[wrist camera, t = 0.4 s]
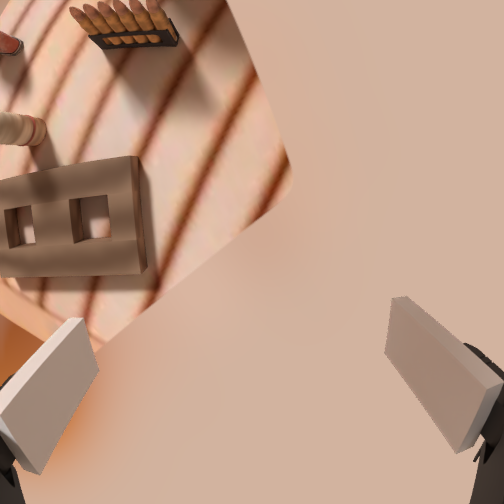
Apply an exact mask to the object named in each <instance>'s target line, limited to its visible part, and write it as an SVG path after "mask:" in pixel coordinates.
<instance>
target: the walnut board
mask: <svg viewBox="0 0 504 504" xmlns="http://www.w3.org/2000/svg"><path fill="white" fill-rule="evenodd" d="M99 195H107V196H108V208H109V218H110V228H111V236H112V237H105V238H91V239H84V236H83V228H82V220H81V210H80V200H79V198H83V197H91V196H99ZM29 205H31V210H32V219H33V227H34V234H35V241H36V243H29V244H20V237H19V231H18V223H17V215H16V208H17V207H23V206H29ZM146 268H147V260H146V252H145V243H144V234H143V224H142V213H141V200H140V186H139V169H138V157H136V156H124V157H117V158H110V159H103V160H97V161H90V162H84V163H79V164H73V165H68V166H62V167H57V168H52V169H47V170H42V171H38V172H33V173H29V174H24V175H20V176H16V177H12V178H8V179H4V180H0V275H1V278H10V277H63V276H101V275H133V274H141V273H142V272H143V271H144V270H145V269H146Z"/></svg>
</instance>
